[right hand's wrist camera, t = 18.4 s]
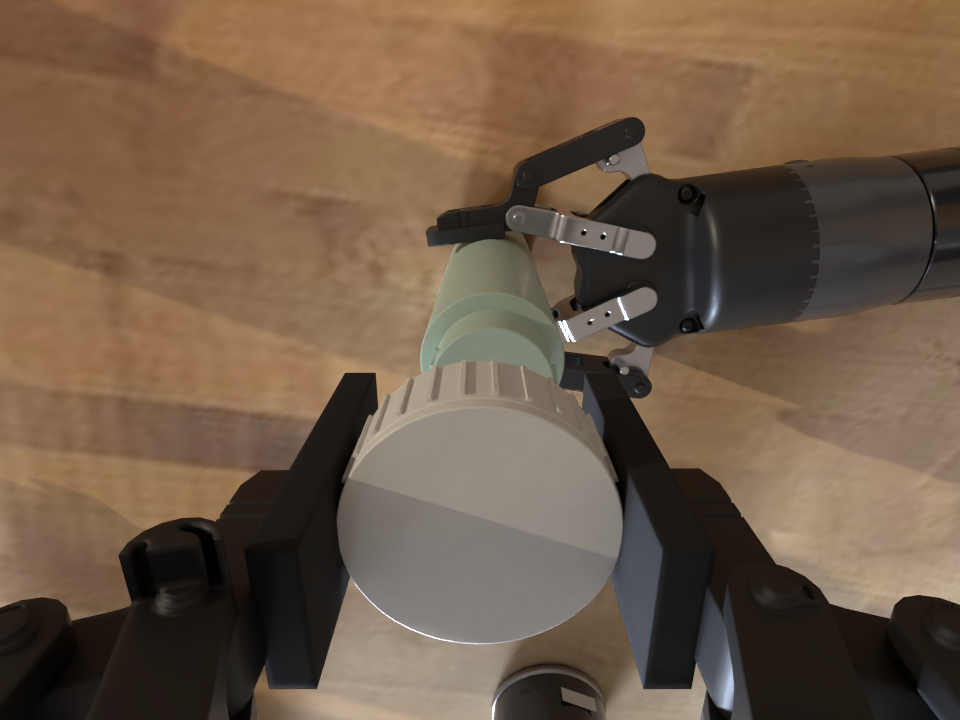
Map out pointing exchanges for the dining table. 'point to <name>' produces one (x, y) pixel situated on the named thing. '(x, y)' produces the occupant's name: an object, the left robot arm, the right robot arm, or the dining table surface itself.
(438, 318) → the bottle
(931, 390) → the dining table surface
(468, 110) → the dining table surface
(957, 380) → the dining table surface
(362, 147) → the dining table surface
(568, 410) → the lid
